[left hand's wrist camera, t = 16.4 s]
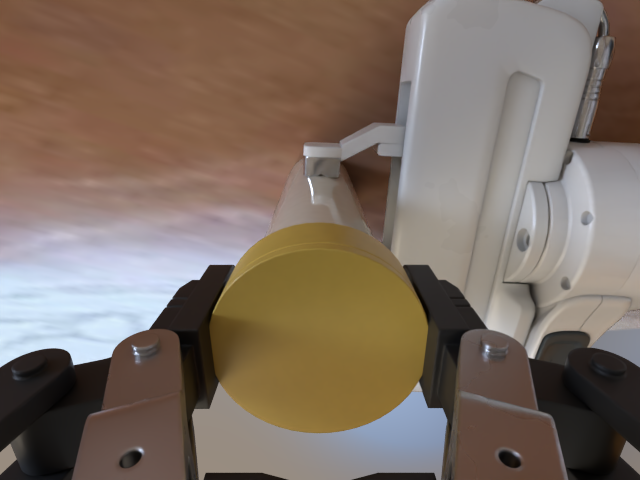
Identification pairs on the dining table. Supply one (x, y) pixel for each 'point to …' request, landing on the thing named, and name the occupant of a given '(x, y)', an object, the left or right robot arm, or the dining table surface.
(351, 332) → the lid
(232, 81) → the dining table surface
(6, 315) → the dining table surface
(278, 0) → the dining table surface
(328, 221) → the white cylinder
